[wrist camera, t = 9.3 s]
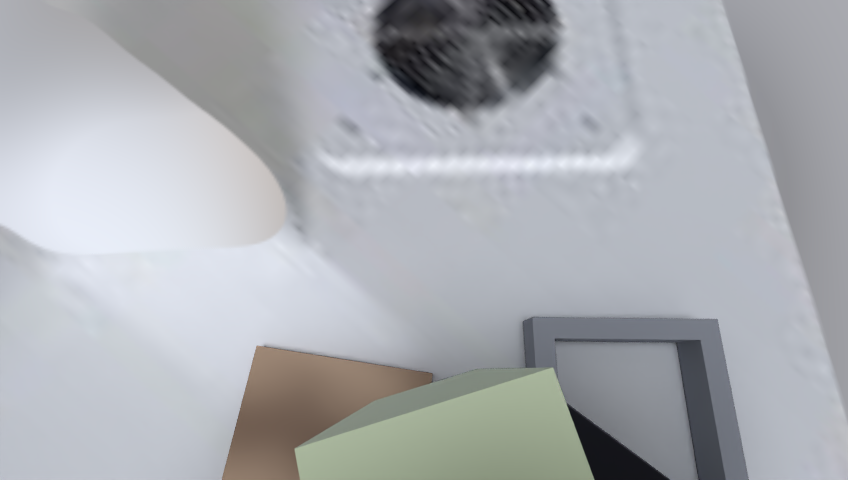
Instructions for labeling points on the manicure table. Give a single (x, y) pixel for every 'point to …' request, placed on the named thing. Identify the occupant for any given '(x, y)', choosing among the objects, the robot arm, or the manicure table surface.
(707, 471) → the gray square frame
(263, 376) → the walnut pad
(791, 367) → the manicure table surface
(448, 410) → the olive block
